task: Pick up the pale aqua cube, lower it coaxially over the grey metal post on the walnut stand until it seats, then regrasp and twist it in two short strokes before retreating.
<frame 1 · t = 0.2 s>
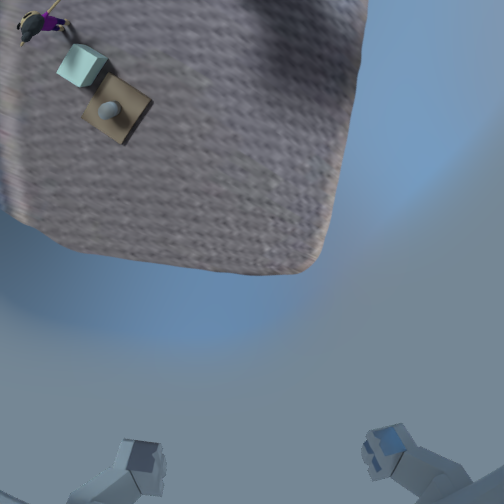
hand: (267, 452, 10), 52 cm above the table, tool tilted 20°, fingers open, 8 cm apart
toy: (68, 28, 38), on the table
pale aqua cube: (88, 64, 42), on the table
stand: (115, 107, 48), on the table
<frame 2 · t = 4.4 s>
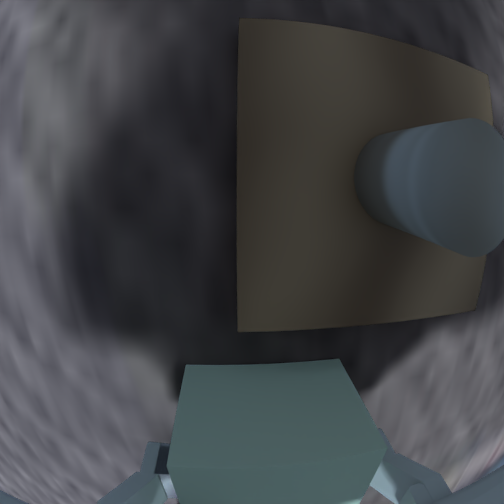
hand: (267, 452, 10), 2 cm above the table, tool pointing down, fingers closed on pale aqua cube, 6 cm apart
pale aqua cube: (262, 417, 12), on the table, touching gripper
stand: (382, 178, 10), on the table
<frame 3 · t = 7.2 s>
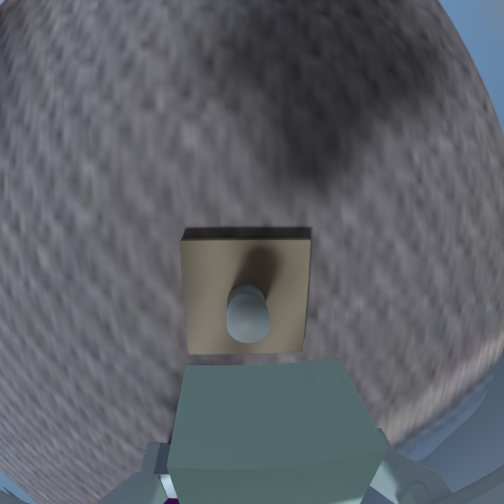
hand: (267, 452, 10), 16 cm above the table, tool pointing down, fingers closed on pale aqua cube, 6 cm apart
pale aqua cube: (262, 418, 12), point 14 cm above the table, touching gripper
stand: (245, 296, 26), on the table
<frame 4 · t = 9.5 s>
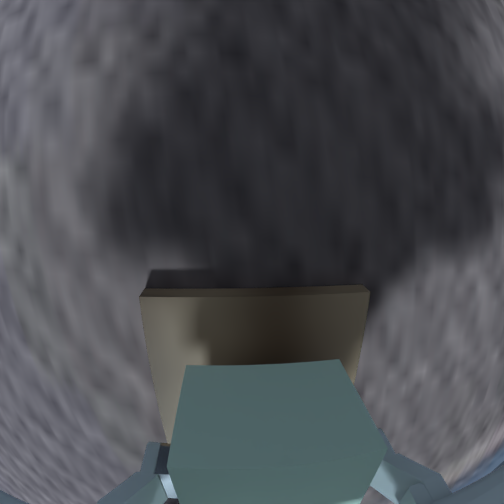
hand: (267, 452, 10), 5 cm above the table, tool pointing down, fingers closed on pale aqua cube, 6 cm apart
pale aqua cube: (262, 418, 12), point 3 cm above the table, touching gripper
stand: (255, 378, 15), on the table
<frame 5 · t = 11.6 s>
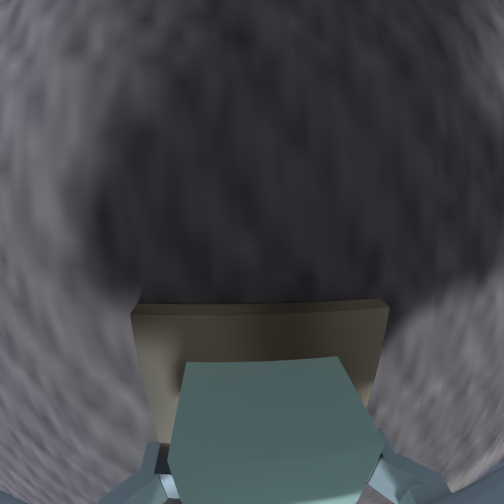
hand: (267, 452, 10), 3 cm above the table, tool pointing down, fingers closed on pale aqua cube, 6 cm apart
pale aqua cube: (261, 414, 12), point 1 cm above the table, touching gripper, stand
stand: (260, 400, 13), on the table
when the fingers open (4 cm above the table, at t = 13.1 s): pale aqua cube stays where it is, resting on stand.
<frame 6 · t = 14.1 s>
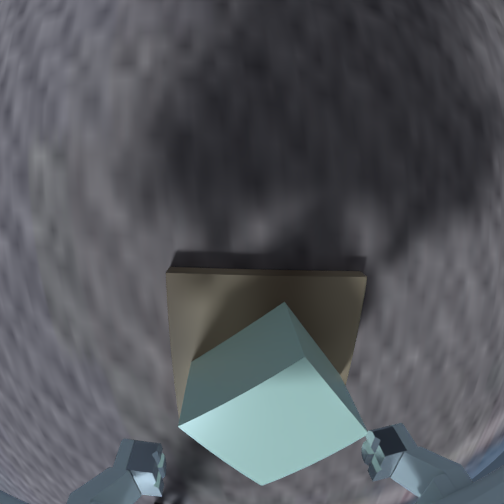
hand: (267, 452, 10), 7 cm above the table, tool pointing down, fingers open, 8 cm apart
pale aqua cube: (268, 371, 16), point 1 cm above the table, touching stand
stand: (262, 353, 17), on the table
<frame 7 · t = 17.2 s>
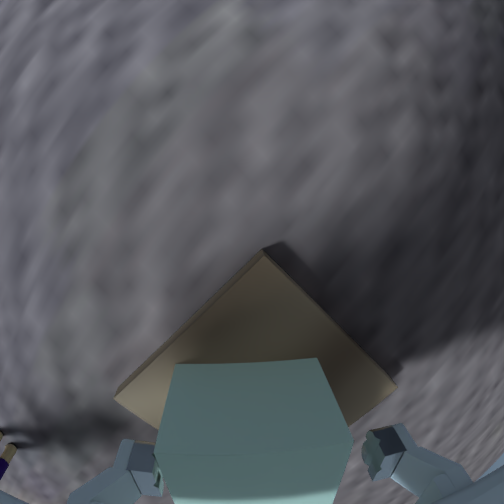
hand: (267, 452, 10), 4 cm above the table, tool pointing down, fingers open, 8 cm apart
toy: (11, 436, 15), on the table
pale aqua cube: (248, 412, 13), point 1 cm above the table, touching stand
stand: (258, 391, 14), on the table
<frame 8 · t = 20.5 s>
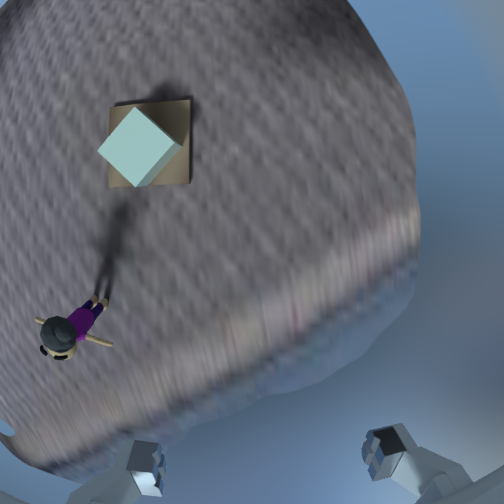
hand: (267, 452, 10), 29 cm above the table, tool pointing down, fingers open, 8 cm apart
toy: (101, 293, 38), on the table
pale aqua cube: (146, 149, 33), point 1 cm above the table, touching stand
stand: (149, 143, 34), on the table
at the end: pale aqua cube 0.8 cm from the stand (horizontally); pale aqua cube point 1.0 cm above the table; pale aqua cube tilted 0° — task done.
